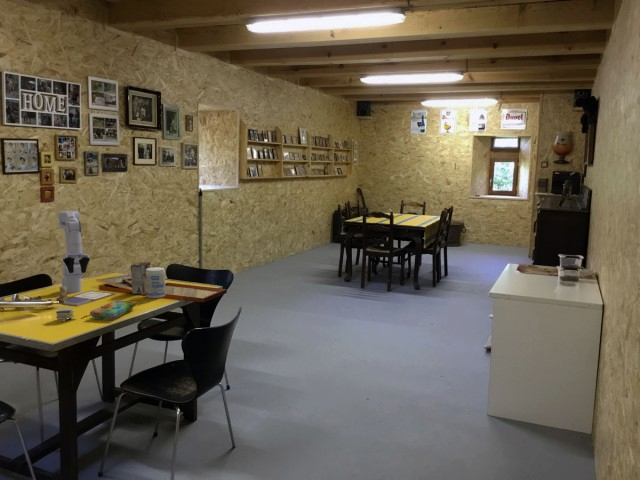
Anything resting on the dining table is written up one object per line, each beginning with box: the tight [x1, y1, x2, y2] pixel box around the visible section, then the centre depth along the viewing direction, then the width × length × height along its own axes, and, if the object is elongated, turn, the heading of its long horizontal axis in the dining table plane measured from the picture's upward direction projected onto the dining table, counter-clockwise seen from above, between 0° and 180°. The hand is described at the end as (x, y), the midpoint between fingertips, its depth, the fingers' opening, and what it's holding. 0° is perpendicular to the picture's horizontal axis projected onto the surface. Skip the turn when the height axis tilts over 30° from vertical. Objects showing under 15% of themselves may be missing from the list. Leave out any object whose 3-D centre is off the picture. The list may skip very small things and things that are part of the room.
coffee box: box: [130, 261, 151, 297], centre depth 288 cm, size 9×6×16 cm
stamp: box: [56, 286, 71, 302], centre depth 268 cm, size 5×4×7 cm
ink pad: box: [64, 298, 92, 307], centre depth 265 cm, size 9×8×2 cm
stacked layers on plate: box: [55, 306, 74, 322], centre depth 240 cm, size 10×9×6 cm
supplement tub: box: [145, 266, 166, 299], centre depth 282 cm, size 10×10×15 cm
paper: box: [73, 290, 112, 300], centre depth 280 cm, size 14×12×1 cm
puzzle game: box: [89, 300, 138, 321], centre depth 250 cm, size 12×5×20 cm
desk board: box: [55, 290, 117, 308], centre depth 275 cm, size 18×27×1 cm, turn 158°
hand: (77, 272), depth 265 cm, fingers open, 7 cm apart
